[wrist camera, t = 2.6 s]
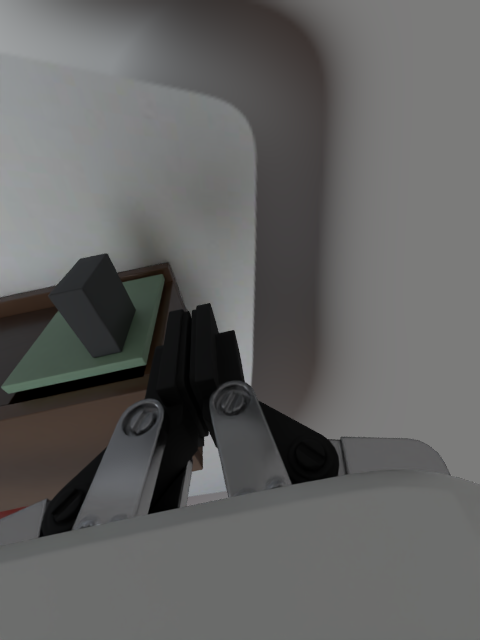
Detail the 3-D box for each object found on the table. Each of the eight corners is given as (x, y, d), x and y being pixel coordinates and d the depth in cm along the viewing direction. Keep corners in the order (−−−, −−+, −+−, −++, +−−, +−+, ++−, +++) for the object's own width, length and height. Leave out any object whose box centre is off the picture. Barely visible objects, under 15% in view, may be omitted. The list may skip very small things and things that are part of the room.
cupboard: (-21, 301, 22) (-194, 441, 12) (169, 261, 22) (145, 370, 12) (55, 383, 28) (-19, 516, 19) (201, 352, 28) (203, 469, 19)
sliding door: (39, 244, 18) (-70, 327, 11) (142, 222, 18) (104, 290, 11) (75, 299, 21) (7, 394, 14) (165, 280, 21) (146, 365, 14)
